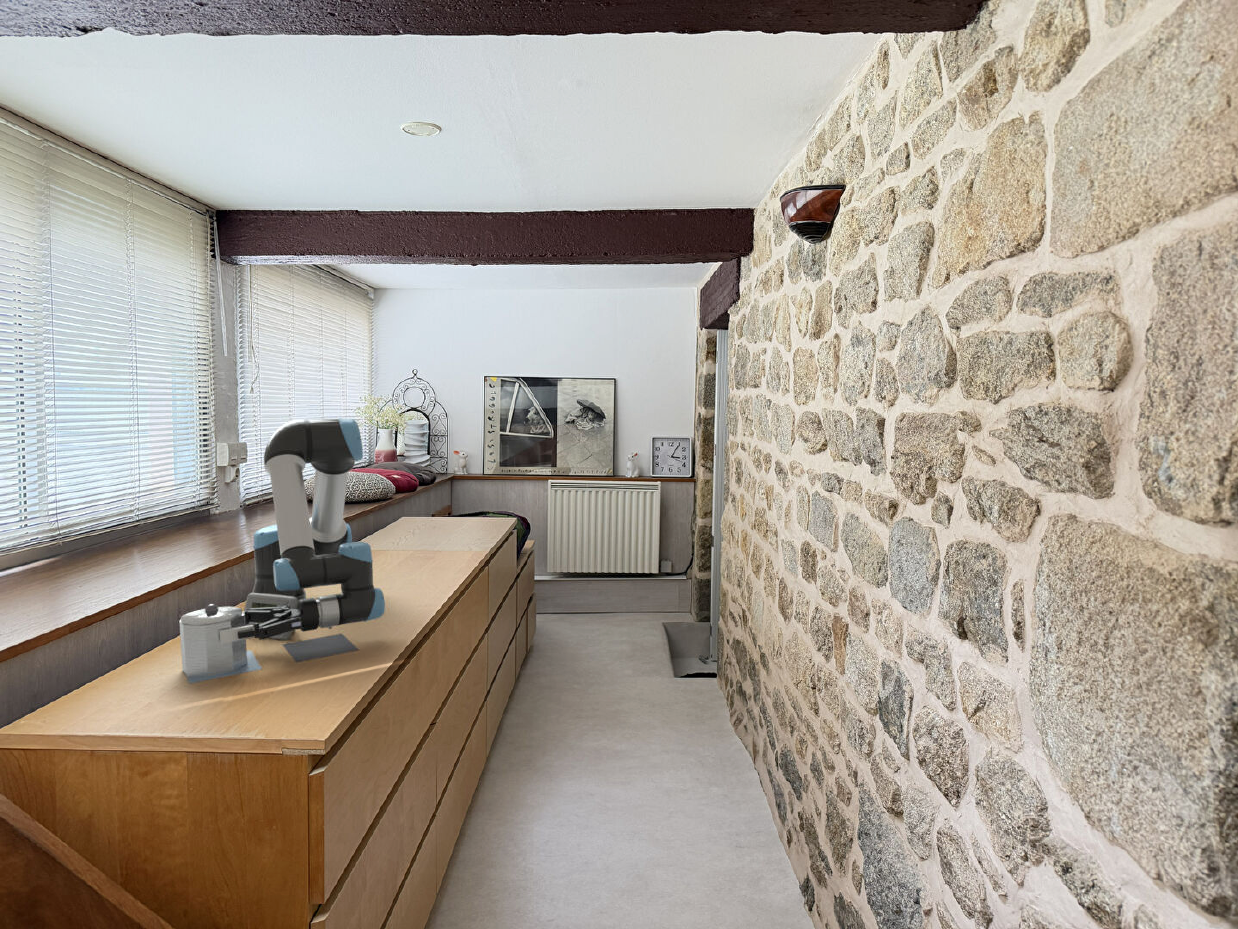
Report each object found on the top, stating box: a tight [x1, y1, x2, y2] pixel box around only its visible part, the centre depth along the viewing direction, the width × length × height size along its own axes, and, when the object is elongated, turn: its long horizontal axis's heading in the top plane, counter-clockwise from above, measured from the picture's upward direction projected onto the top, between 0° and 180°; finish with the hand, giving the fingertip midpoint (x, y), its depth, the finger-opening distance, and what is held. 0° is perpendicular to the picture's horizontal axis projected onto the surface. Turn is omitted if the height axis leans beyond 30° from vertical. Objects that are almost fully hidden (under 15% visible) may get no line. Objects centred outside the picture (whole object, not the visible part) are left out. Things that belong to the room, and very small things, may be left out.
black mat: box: [282, 633, 360, 663], centre depth 180 cm, size 16×14×1 cm
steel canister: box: [178, 603, 248, 678], centre depth 167 cm, size 12×12×14 cm
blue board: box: [187, 649, 263, 684], centre depth 168 cm, size 16×14×1 cm
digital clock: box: [243, 592, 298, 641], centre depth 191 cm, size 16×9×11 cm, turn 57°
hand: (216, 629), depth 167 cm, fingers open, 13 cm apart
